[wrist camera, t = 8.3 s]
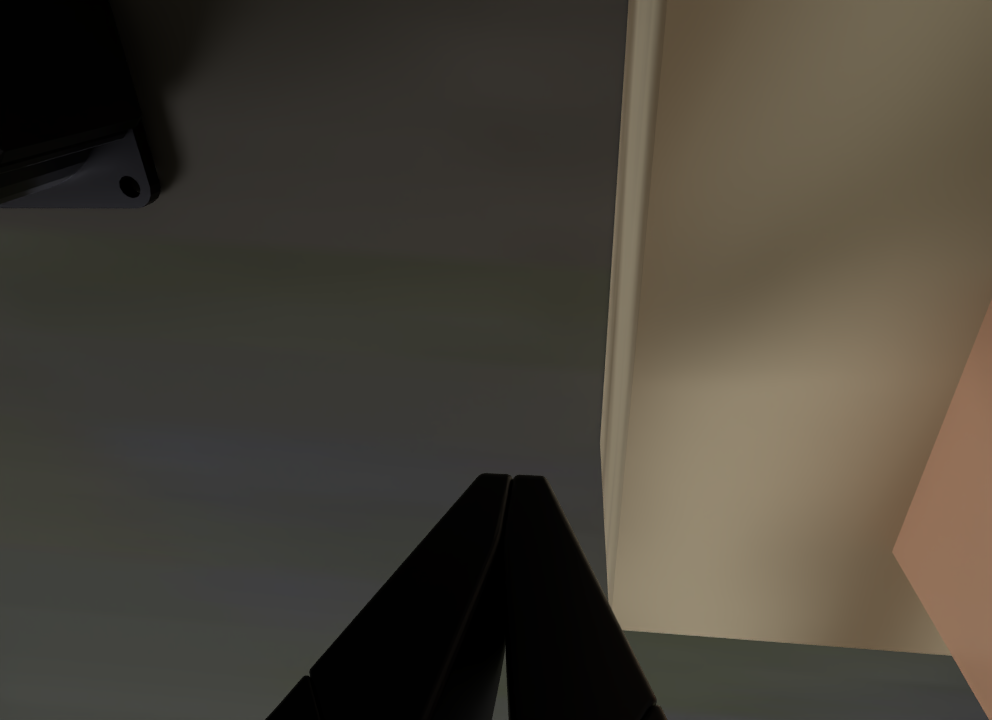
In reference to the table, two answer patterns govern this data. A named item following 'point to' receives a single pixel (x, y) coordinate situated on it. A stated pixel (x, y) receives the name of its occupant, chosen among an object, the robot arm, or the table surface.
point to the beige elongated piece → (789, 308)
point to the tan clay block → (958, 524)
